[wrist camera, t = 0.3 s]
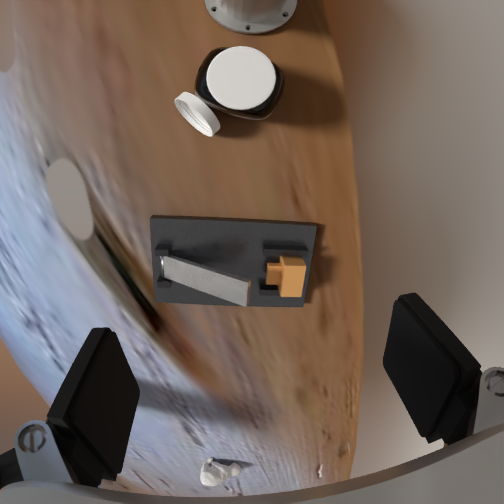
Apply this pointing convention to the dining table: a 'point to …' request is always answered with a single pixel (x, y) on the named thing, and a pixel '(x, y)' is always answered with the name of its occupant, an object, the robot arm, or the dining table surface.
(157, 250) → the plate
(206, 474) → the white rounded lump
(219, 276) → the strap
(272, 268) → the block
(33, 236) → the dining table surface
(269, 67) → the spread jar
